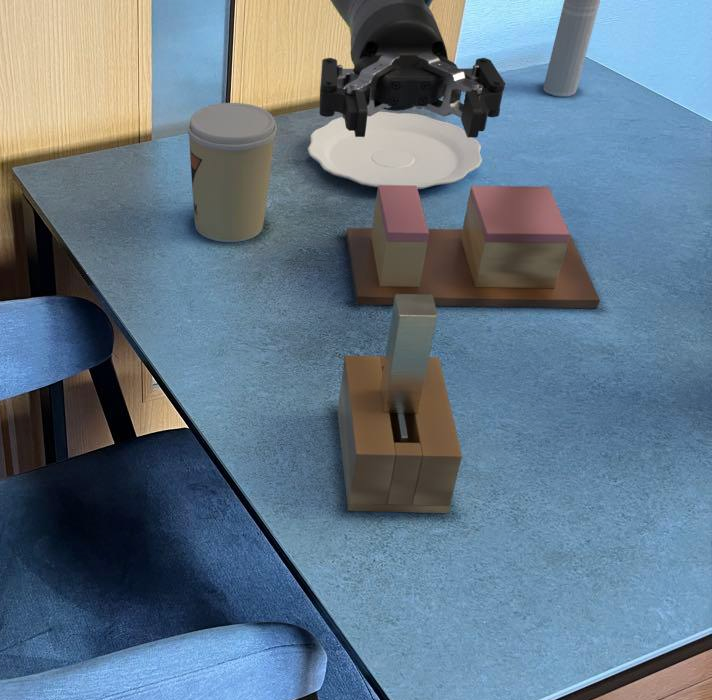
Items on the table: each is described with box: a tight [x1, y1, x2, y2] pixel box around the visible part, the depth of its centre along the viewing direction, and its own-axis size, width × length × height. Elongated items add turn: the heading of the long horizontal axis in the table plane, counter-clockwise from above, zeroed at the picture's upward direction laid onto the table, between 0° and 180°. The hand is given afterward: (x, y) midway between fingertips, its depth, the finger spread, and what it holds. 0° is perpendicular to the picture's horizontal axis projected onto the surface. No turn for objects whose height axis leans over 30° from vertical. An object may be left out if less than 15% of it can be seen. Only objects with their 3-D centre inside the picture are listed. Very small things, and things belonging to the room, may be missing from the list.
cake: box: [346, 185, 601, 309], centre depth 106 cm, size 24×14×7 cm, turn 87°
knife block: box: [337, 355, 463, 514], centre depth 85 cm, size 8×13×6 cm, turn 177°
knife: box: [380, 294, 438, 443], centre depth 82 cm, size 3×9×14 cm, turn 177°
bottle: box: [543, 0, 601, 98], centre depth 134 cm, size 4×4×20 cm
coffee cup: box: [187, 102, 278, 243], centre depth 112 cm, size 9×9×12 cm
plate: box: [307, 111, 483, 190], centre depth 126 cm, size 21×21×2 cm
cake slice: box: [371, 185, 429, 287], centre depth 106 cm, size 4×10×6 cm, turn 177°
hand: (418, 125), depth 78 cm, fingers open, 8 cm apart
